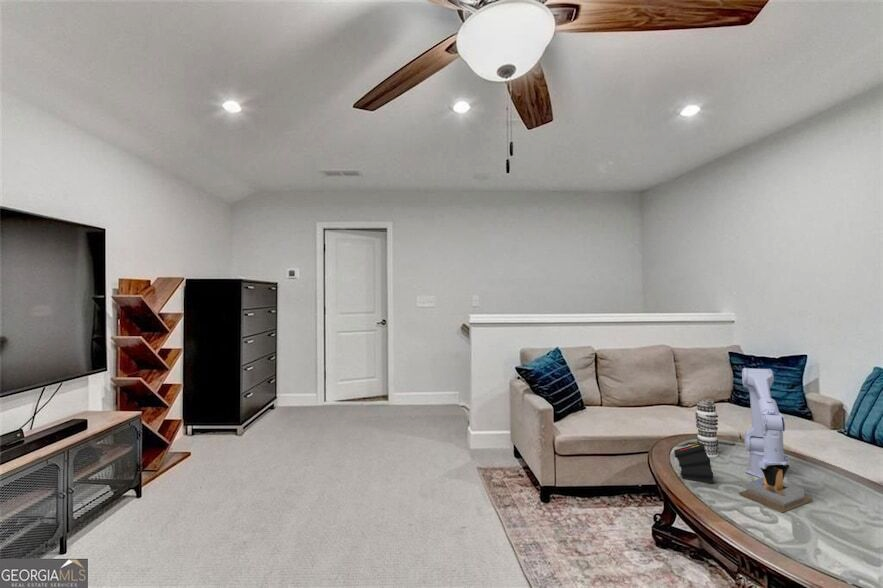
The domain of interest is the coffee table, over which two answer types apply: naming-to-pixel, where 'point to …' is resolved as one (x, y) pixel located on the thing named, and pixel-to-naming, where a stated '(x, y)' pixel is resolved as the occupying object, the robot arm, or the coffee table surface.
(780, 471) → the orange rectangular block
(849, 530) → the coffee table surface
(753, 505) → the coffee table surface
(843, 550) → the coffee table surface
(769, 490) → the socket
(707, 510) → the coffee table surface
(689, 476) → the black ridged slab
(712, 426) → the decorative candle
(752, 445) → the robot arm
